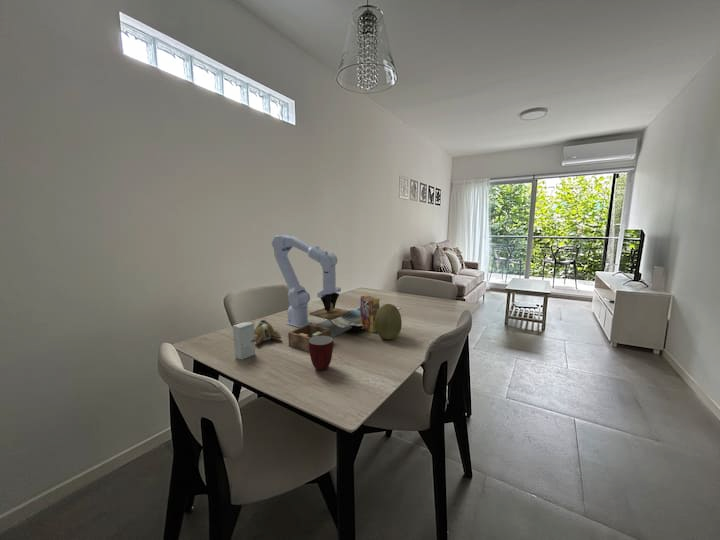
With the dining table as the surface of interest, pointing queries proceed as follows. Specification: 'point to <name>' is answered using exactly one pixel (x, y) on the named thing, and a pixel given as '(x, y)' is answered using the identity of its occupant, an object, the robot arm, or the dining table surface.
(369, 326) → the candy box
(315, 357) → the mug
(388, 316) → the fruit
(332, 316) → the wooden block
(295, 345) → the box
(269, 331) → the ceramic sculpture
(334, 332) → the mat
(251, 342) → the skincare box
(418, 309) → the dining table surface
